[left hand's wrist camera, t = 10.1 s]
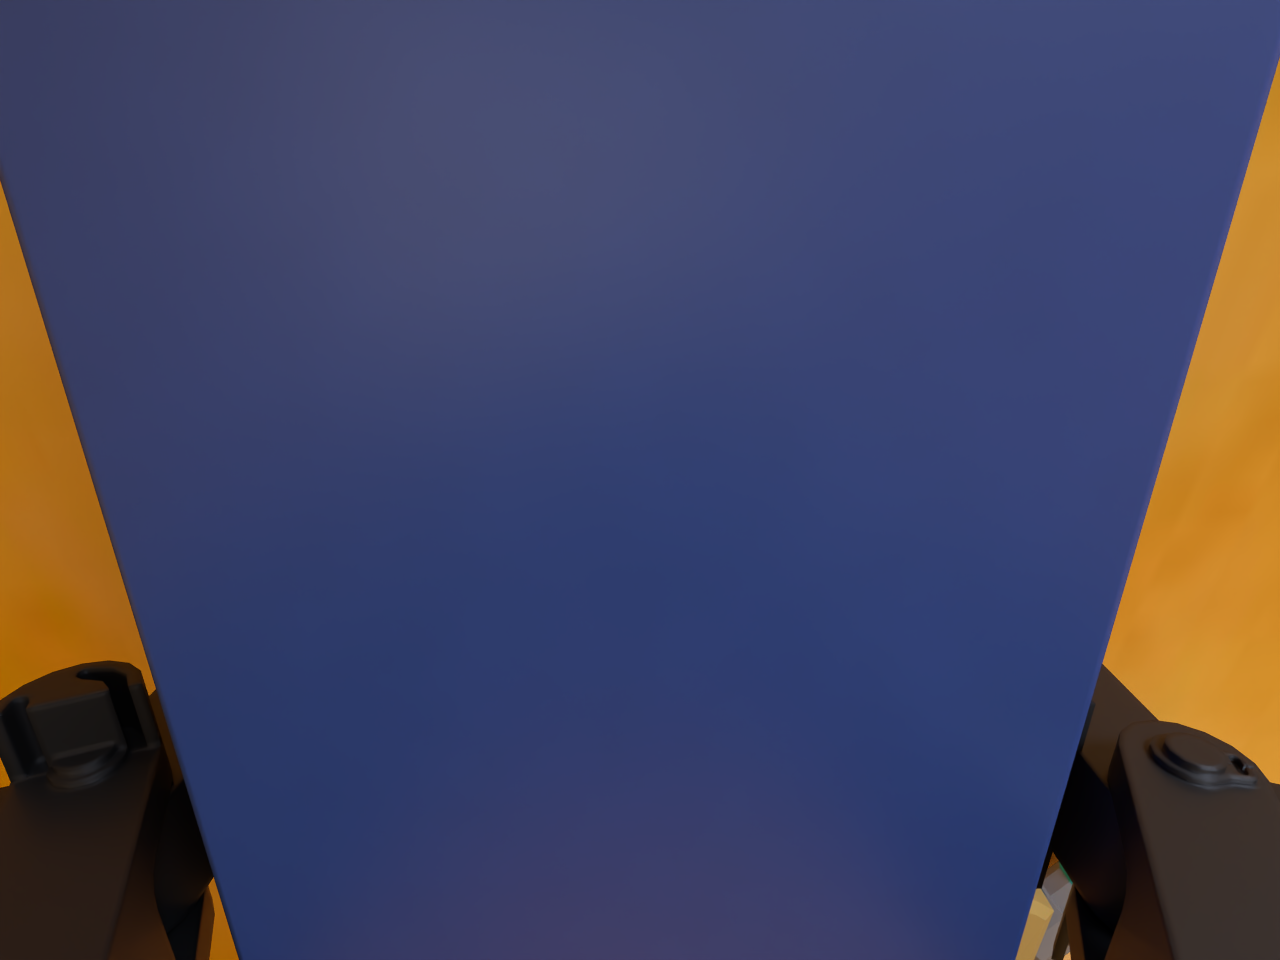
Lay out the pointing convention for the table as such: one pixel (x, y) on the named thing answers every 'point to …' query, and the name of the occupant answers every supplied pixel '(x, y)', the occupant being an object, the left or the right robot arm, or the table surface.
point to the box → (626, 438)
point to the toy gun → (1045, 916)
